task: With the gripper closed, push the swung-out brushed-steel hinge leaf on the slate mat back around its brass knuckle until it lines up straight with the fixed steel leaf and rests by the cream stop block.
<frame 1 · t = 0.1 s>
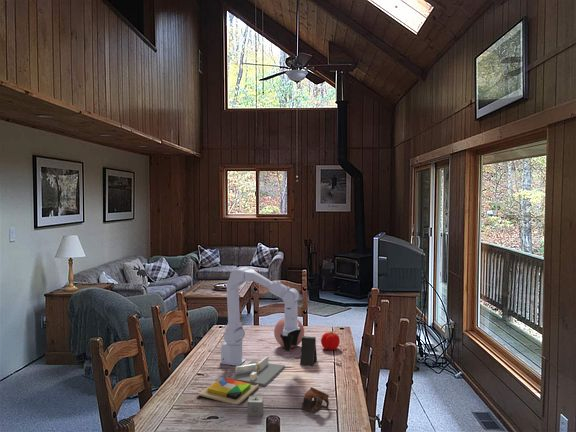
hand: (290, 347, 198), 10 cm above the table, tool pointing down, fingers open, 7 cm apart
dice cube: (255, 413, 158), on the table
tomato: (330, 349, 228), on the table
wooden puzzle: (228, 394, 175), on the table
pottery mug: (315, 410, 161), on the table
balloon: (289, 346, 233), on the table
phone stand: (308, 363, 208), on the table
hinge base: (258, 373, 194), on the table
hinge leaf: (247, 368, 192), point 3 cm above the table, hinge at -45.0°
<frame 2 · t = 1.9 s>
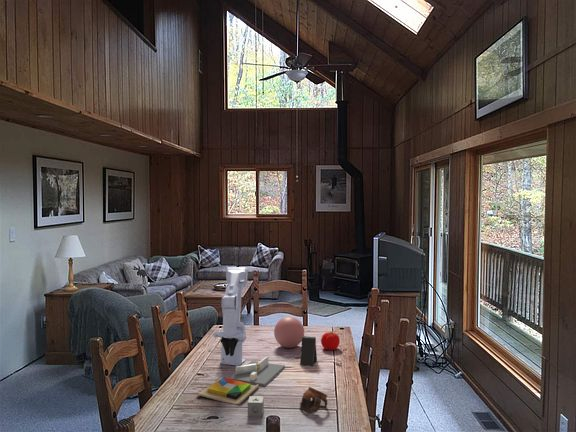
hand: (229, 355, 193), 8 cm above the table, tool pointing down, fingers closed
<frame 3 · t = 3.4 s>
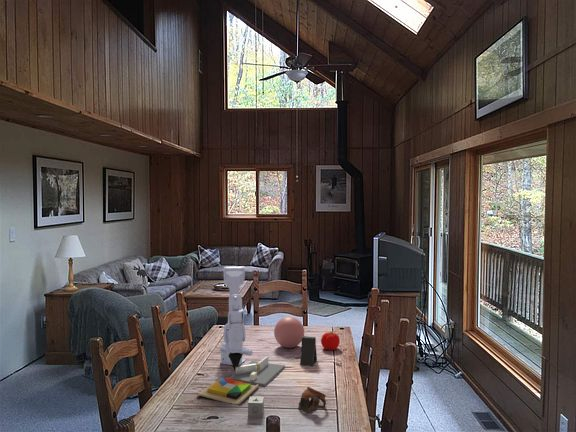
hand: (235, 369, 192), 2 cm above the table, tool pointing down, fingers closed, pressing on hinge leaf
hinge leaf: (247, 368, 192), point 3 cm above the table, hinge at -45.0°, touching gripper
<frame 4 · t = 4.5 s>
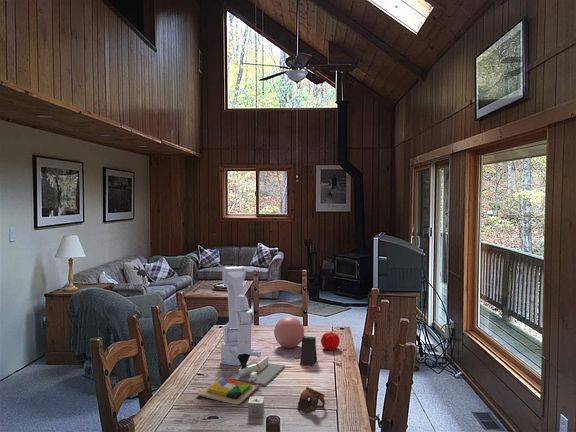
hand: (244, 371, 191), 2 cm above the table, tool pointing down, fingers closed, pressing on hinge leaf
hinge leaf: (249, 370, 191), point 3 cm above the table, hinge at -25.7°, touching gripper
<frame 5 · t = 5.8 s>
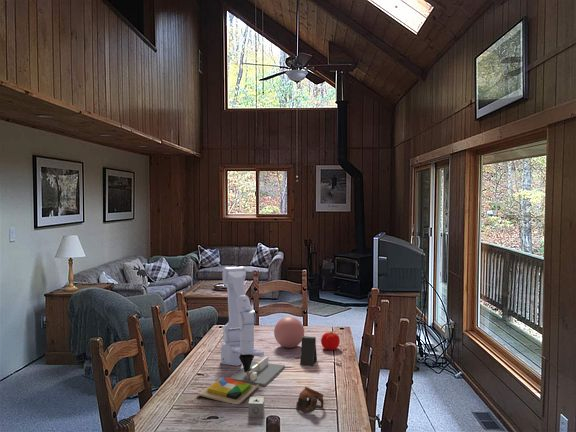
hand: (246, 371, 190), 2 cm above the table, tool pointing down, fingers closed
hinge leaf: (253, 371, 190), point 3 cm above the table, hinge at -0.8°
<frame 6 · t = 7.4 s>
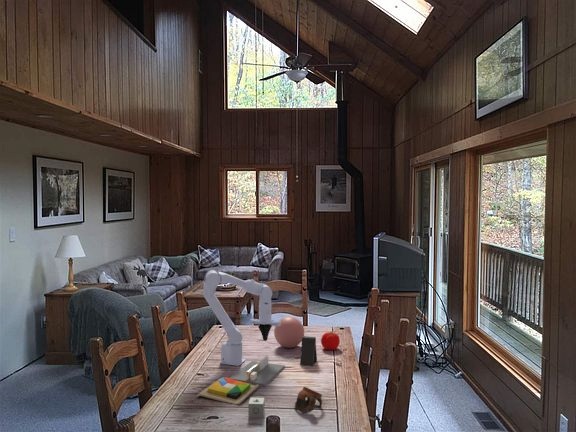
hand: (265, 340, 211), 9 cm above the table, tool pointing down, fingers closed
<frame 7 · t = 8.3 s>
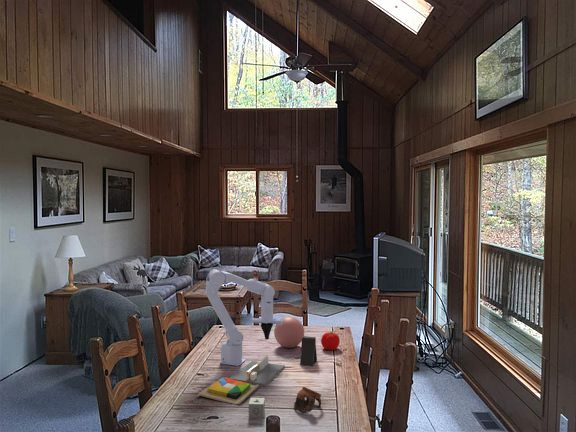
hand: (267, 338, 213), 9 cm above the table, tool pointing down, fingers closed
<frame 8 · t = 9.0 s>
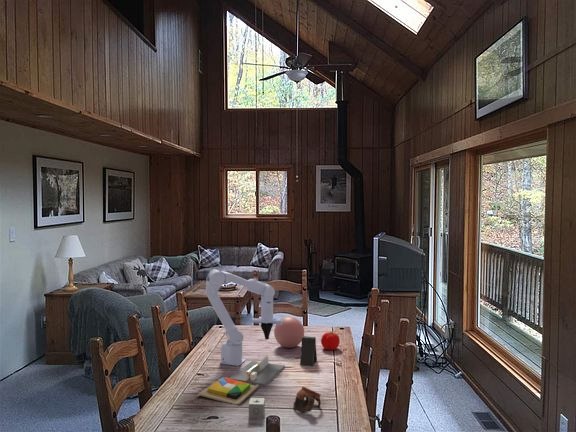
hand: (267, 338, 213), 9 cm above the table, tool pointing down, fingers closed
at the end: hinge leaf at -1° (first picture: -45°) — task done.
